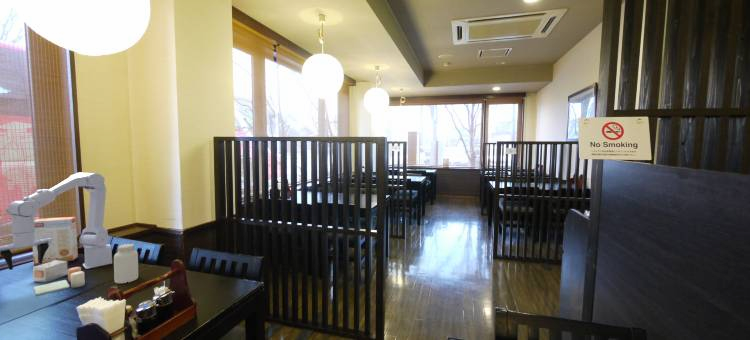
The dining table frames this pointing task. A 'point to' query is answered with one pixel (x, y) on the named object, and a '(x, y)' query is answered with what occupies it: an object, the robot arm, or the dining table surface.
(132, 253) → the pill bottle
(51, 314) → the dining table surface
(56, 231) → the cracker box
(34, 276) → the block
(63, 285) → the pad
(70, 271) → the terracotta peg
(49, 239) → the robot arm
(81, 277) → the ivory peg
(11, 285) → the dining table surface
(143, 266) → the dining table surface
